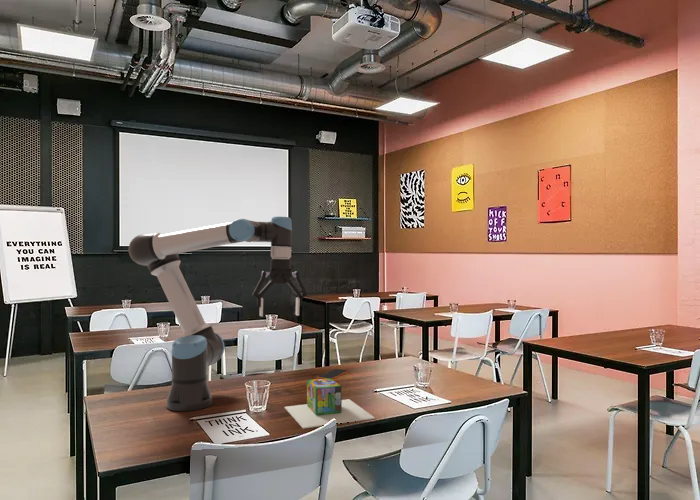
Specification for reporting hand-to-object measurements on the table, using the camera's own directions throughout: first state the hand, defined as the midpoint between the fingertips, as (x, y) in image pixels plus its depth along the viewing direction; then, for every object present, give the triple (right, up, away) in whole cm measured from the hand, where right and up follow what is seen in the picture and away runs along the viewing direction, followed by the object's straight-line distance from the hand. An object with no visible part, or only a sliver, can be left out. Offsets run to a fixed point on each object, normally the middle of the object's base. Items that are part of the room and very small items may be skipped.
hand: (279, 315), depth 187 cm
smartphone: (+19, -31, +34) cm, 49 cm away
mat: (+19, -30, -19) cm, 40 cm away
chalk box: (+15, -25, -11) cm, 31 cm away
